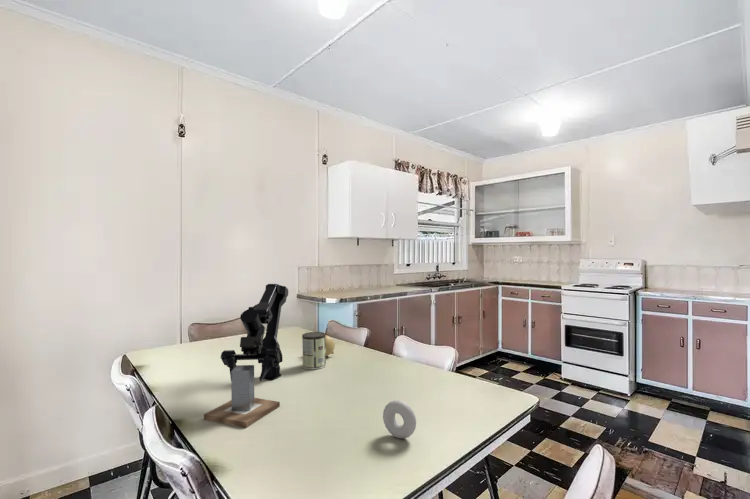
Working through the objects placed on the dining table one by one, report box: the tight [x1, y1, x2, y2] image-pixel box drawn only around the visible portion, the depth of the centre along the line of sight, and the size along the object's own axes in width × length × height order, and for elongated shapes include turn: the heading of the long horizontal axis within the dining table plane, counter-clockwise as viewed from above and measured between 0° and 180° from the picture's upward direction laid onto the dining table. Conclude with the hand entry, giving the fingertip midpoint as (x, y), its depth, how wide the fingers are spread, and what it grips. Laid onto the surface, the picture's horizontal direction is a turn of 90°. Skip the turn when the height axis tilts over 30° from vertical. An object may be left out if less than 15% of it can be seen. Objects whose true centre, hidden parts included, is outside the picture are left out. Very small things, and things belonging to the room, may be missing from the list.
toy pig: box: [325, 335, 336, 357], centre depth 183 cm, size 10×12×11 cm
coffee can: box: [301, 331, 327, 370], centre depth 167 cm, size 10×10×14 cm
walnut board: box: [203, 397, 281, 429], centre depth 119 cm, size 16×16×2 cm
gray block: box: [230, 364, 255, 411], centre depth 119 cm, size 6×6×12 cm
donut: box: [382, 399, 417, 440], centre depth 102 cm, size 10×4×10 cm, turn 55°
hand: (246, 381), depth 123 cm, fingers open, 9 cm apart
